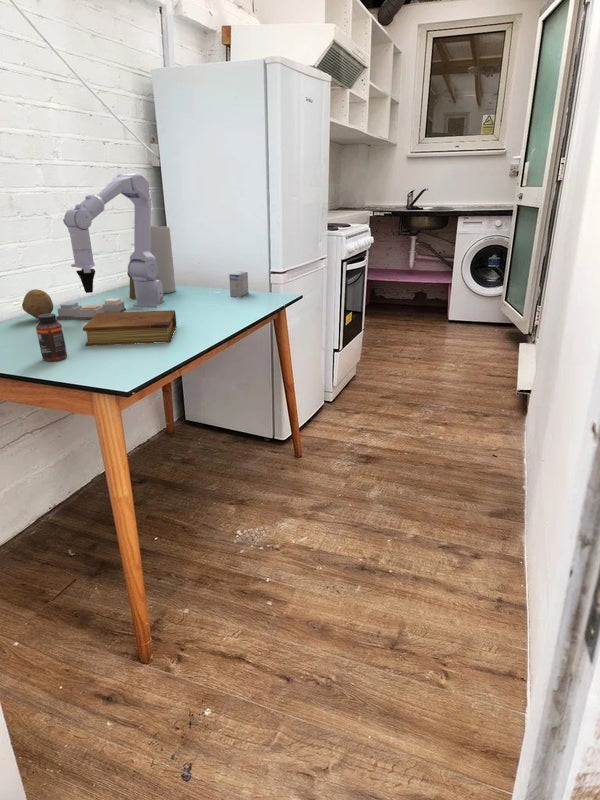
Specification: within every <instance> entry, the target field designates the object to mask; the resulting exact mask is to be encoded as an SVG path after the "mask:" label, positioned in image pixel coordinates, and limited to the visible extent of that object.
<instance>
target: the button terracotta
mask: <svg viewBox="0 0 600 800" xmlns="http://www.w3.org/2000/svg"><path fill="white" fill-rule="evenodd" d="M100 306H101V305H100V304H99V305H98V304H97V305H95V304H94V305H90V304H89V305H88V304H87V305H86V306H84V307H82V308H83V309H93V310H95V309H97V308H99V307H100Z"/></svg>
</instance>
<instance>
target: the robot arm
mask: <svg viewBox="0 0 600 800" xmlns="http://www.w3.org/2000/svg"><path fill="white" fill-rule="evenodd" d="M120 194H121V195H122V196H123V197H126V199H129V200H130V201H131V203H133V205H134V219H133V220H134V231H133V232H134V239H133V240H134V243H133V244H134V246H133V247H134V248H133V249H134V250H133V252H132V253H131V254H130V255H129V262H128V264H127V272H128V273H129V275H130V276H131V277H132V279H133V280H134V287H135V295H136V299H135V301H136V302H134V303H133V304H132V306H133V307H159V306H160V305H162V304H164V303H165V299H164V297H165V296H164V294H163V288H162V283H161V281H160V280H155V279H156V276H157V274H158V267H157V264H156V258H155V257H154V256H153V255H152V254H151V252H150V248H151V226H152V225H151V223H152V221H151V220H152V200H151V199H152V198H151V195H150V182H149V180H148V179H147V178H146V176H145V175H143V174H142V173H119V174H117V175H116V176H115V177H113V178H112V180H111V181H110V182H109V184H107V185H106V186H105V187H104V188H103V189H102V190H101V191H100V192H99V193H97V195H95V194H89V195H88V194H86V195H85V197H84V198H85V199H84V200H82V202H80V203H76V205H75V207H74V209H73V208H72V209H68V210H67V211H66V212H65V214H64V217H63V219H62V221H63V225H65V226H66V228H67V230H68V233H69V237H70V244H71V248H72V255H73V262H74V263H71V264H70V266H71V268H77V269H80V270H76V272H75V273H76V275H78V277H79V279H80V281H81V283H82V287H83V290H84V292H85V293H86V294H90V293H91V294H92V293H93V291H94V277H95V275H96V270H95V268H93V267H95V266H96V264H95V261H94V255H93V249H92V243H91V236H90V230H89V228H90V227H91V225H92V222H93V220H94V219H95V218H97V217H98V216H99V215H100V214H101V213H103V212H104V211H105V205H106V204H107V203H108V202H110V201H111V200H113V199H114V198H116V197H117V196H118V195H120ZM141 260H144V261H141Z"/></svg>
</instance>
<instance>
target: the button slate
mask: <svg viewBox="0 0 600 800" xmlns="http://www.w3.org/2000/svg"><path fill="white" fill-rule="evenodd" d="M78 305H79V304H78V302H70V301H69V302H67V301H66V302H65V303H62V304H60V305H59V306H60V307H61V309H73V308H75V307H78Z"/></svg>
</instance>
